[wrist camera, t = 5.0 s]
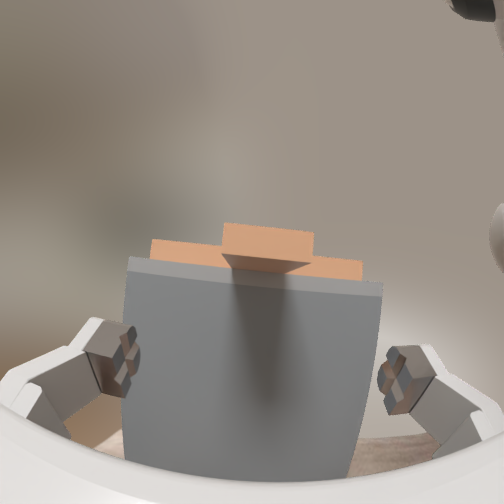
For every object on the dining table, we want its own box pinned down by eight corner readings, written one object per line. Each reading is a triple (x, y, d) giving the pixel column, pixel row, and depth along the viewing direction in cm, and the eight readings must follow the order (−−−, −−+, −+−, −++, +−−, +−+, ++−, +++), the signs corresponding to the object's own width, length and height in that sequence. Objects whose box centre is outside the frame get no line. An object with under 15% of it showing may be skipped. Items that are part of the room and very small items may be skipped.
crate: (297, 463, 32) (324, 286, 35) (321, 539, 16) (383, 282, 19) (169, 451, 32) (180, 271, 35) (134, 523, 16) (129, 256, 19)
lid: (323, 285, 34) (324, 270, 34) (446, 276, 11) (446, 238, 11) (181, 270, 34) (183, 256, 34) (73, 237, 11) (81, 198, 11)
